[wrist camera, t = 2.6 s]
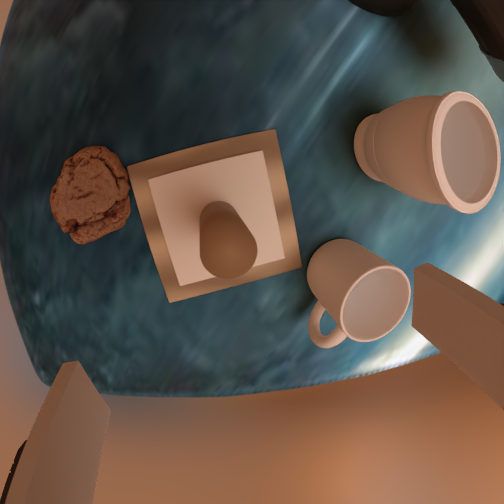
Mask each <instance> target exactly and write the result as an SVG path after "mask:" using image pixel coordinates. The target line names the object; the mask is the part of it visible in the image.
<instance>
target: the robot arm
mask: <svg viewBox="0 0 504 504" xmlns="http://www.w3.org/2000/svg"><path fill="white" fill-rule="evenodd" d="M350 1H351V2H353V3H354V4H356V5H357V6H359V7H361V8H363V9H365V10H367V11H370V12H372V13H375V14H378V15H383V16H399V15H402V14H404V13H406V12H407V11H409V10H411V9H413V8H414V7H415V6H416V5H417V3H418V1H419V0H350ZM450 1H451V2H452V4H453V5H454V6H455V8H456V9H457V11H458V12H459V14H460V15H461V17H462V18H463V19H464V21H465V23H466V24H467V26H468V27H469V29H470V30H471V32H472V34H473V35H474V37H475V39H476V40H477V42H478V44H479V48H480V50H481V52H482V53H483V54H484V55H485V56H486V58H487V59H488V61H489V63H490V65H491V66H492V68H493V70H494V72H495V73H496V75H497V76H498V77H499V78H500V79H501V80H502V81H503V82H504V0H450ZM412 327H414V328H415V329H416V330H417V331H418V332H419V333H421V334H422V335H423V336H424V337H425V338H426V339H427V340H429V341H430V342H431V343H432V344H433V345H434V346H435V347H436V348H438V349H439V350H440V351H441V352H442V353H443V354H444V355H445V356H447V357H448V358H449V359H450V360H451V361H452V362H453V363H454V364H455V365H456V366H458V367H459V368H460V369H461V370H462V371H463V372H464V373H465V374H466V375H467V376H469V378H471V379H472V380H473V381H474V382H475V383H476V384H477V385H478V386H479V387H480V388H481V389H482V390H483V391H485V393H487V394H488V395H489V396H490V397H491V398H492V399H493V400H494V401H495V402H496V403H497V404H498V405H499V406H500V407H501V408H502V409H503V410H504V304H502V303H501V304H499V303H498V302H496V301H494V300H493V299H491V298H490V297H488V296H486V295H484V294H483V293H481V292H479V291H478V290H476V289H474V288H473V287H471V286H469V285H467V284H466V283H464V282H462V281H460V280H459V279H457V278H455V277H453V276H451V275H450V274H448V273H446V272H444V271H442V270H441V269H439V268H437V267H435V266H433V265H431V264H429V263H426V264H423V265H421V266H418V267H416V268H414V293H413V314H412ZM110 413H111V410H110V409H109V408H108V406H107V404H106V403H105V402H104V400H103V399H102V397H101V396H100V394H99V393H98V391H97V390H96V388H95V387H94V385H93V384H92V382H91V380H90V379H89V377H88V376H87V374H86V372H85V371H84V369H83V368H82V366H81V364H80V363H79V361H74V362H67V363H63V365H62V367H61V369H60V370H59V372H58V374H57V376H56V378H55V380H54V382H53V384H52V386H51V388H50V390H49V392H48V395H47V397H46V399H45V401H44V403H43V405H42V407H41V410H40V412H39V414H38V416H37V418H36V421H35V423H34V425H33V428H32V430H31V432H30V435H29V437H28V439H27V440H26V441H25V442H24V443H23V444H22V446H21V447H20V448H19V449H18V451H17V454H16V457H15V459H14V464H13V465H12V467H11V470H10V471H11V473H9V475H8V478H7V481H6V484H5V487H4V490H3V493H2V497H1V500H0V504H93V499H94V492H95V486H96V480H97V474H98V469H99V464H100V459H101V454H102V449H103V444H104V439H105V435H106V430H107V426H108V422H109V417H110Z"/></svg>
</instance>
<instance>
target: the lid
mask: <svg viewBox="0 0 504 504" xmlns="http://www.w3.org/2000/svg"><path fill="white" fill-rule="evenodd" d="M148 182H149V186H150V189H151V193H152V197H153V200H154V204H155V207H156V211H157V214H158V218H159V221H160V225H161V228H162V231H163V235H164V238H165V241H166V245H167V248H168V251H169V254H170V257H171V260H172V263H173V267H174V270H175V273H176V276H177V279H178V282H179V285H180V286H183V285H187V284H191V283H194V282H198V281H202V280H206V279H210V278H213V277H219V278H223V279H233V278H237V277H240V276H242V275H244V274H245V273H246V272H248V271H249V270H250V269H251V267H254V266H258V265H262V264H266V263H269V262H273V261H277V260H280V259H284V258H285V256H284V251H283V246H282V241H281V236H280V231H279V226H278V221H277V216H276V211H275V206H274V201H273V196H272V192H271V187H270V182H269V177H268V173H267V168H266V164H265V159H264V154H263V150H262V151H257V152H252V153H248V154H243V155H239V156H234V157H230V158H226V159H222V160H217V161H213V162H209V163H206V164H202V165H198V166H194V167H190V168H187V169H183V170H179V171H176V172H172V173H169V174H165V175H162V176H158V177H155V178H152V179H149V180H148Z"/></svg>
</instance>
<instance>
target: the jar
mask: <svg viewBox="0 0 504 504" xmlns="http://www.w3.org/2000/svg"><path fill="white" fill-rule="evenodd" d="M354 152H355V156H356V159H357V162H358V164H359V166H360V167H361V169H362V170H363V172H364V173H365V174H366V175H367V176H369V177H370V178H372V179H374V180H376V181H379V182H384V183H385V184H387V185H389V186H390V187H392V188H394V189H396V190H399V191H400V192H402V193H404V194H406V195H408V196H410V197H412V198H415V199H417V200H420V201H424V202H428V203H435V204H448V205H449V206H450V207H451V208H453V209H455V210H457V211H460V212H462V213H467V214H471V213H475V212H478V211H479V210H481V209H482V208H484V207H485V206H486V204H487V203H488V202H489V201H490V199H491V197H492V196H493V194H494V191H495V189H496V186H497V183H498V179H499V173H500V163H501V156H500V145H499V139H498V135H497V131H496V128H495V125H494V123H493V120H492V118H491V116H490V114H489V113H488V111H487V110H486V108H485V107H484V105H483V104H482V103H481V102H480V101H479V100H478V99H477V98H475V97H474V96H473V95H471V94H469V93H466V92H461V91H453V92H449V93H446V94H444V95H443V96H418V97H413V98H409V99H406V100H403V101H400V102H398V103H396V104H394V105H393V106H391V107H388V108H386V109H384V110H383V111H381V112H380V113H378V114H373V115H370V116H368V117H366V118H365V119H364V120H362V122H361V123H360V124H359V126H358V127H357V130H356V132H355V136H354Z"/></svg>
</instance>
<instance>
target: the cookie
mask: <svg viewBox="0 0 504 504" xmlns="http://www.w3.org/2000/svg"><path fill="white" fill-rule="evenodd" d="M128 180H129V174H128V172H127V170H126V169H124V167H123V166H122V163H121V161H120V160H119V158H118V154H116V153H114V152H113V153H112V152H111V151H110V150H109V149H107V147H105V146H89V147H85V148H83V149H81V150H80V151H78V153H77V154H75V155H74V156H72V157H70V158H68V159H67V160H66V161H65V162H64V166H63V169H62V171H61V175H60V176H59V177H58V179H57V182H56V184H55V185H54V186H53V188H52V191H51V195H50V204H51V208H52V213H53V216H54V217H55V218H56V221H57V222H58V223H59V225H60V227H61V229H62V230H63V232H65V233H67V232H69V231H71V232H70V236H71V238H72V239H73V241H74V242H76V243H78V244H86V243H88V242H91V241H95V240H97V239H99V238H100V237H102V236H104V235H106V234H109V233H110V232H112V231H115V230H118V229H120V228H122V227H123V226H124V225H125V223H126V220H127V218H128V217H129V215H130V198H129V196H128V191H129V190H130V189H131V187H130V186H129V183H128Z"/></svg>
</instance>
